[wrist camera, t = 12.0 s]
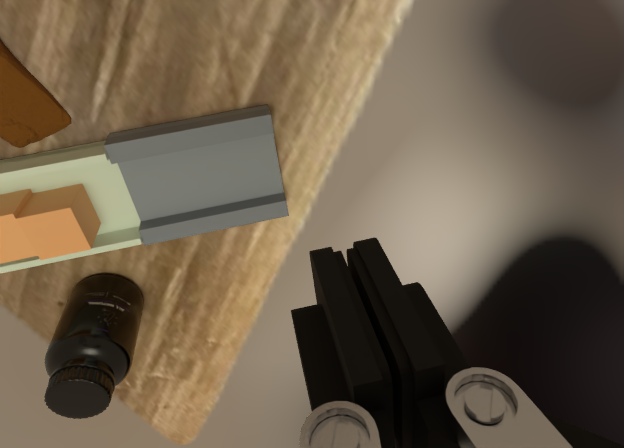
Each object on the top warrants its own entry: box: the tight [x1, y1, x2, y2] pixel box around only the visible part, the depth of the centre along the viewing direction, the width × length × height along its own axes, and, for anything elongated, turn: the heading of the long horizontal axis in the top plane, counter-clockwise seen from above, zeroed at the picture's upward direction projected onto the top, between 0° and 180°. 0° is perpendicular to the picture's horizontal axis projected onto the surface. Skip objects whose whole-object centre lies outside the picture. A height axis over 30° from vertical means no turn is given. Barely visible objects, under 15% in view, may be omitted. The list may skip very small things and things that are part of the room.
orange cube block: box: [0, 189, 38, 264], centre depth 37 cm, size 4×4×4 cm
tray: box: [0, 140, 143, 273], centre depth 38 cm, size 9×13×3 cm, turn 97°
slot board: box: [104, 105, 289, 245], centre depth 39 cm, size 10×13×2 cm
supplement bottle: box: [45, 274, 143, 419], centre depth 41 cm, size 7×7×12 cm
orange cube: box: [16, 184, 101, 260], centre depth 37 cm, size 4×4×4 cm
